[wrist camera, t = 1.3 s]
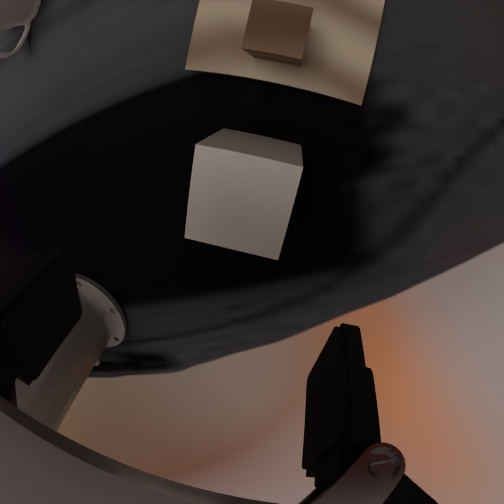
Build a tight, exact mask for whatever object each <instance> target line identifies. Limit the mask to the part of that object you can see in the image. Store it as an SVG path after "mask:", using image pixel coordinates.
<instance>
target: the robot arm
mask: <svg viewBox="0 0 504 504" xmlns="http://www.w3.org/2000/svg"><path fill="white" fill-rule="evenodd" d="M126 333H127V321H126V318H125V315H124V313H123V311H122V309H121V307H120V306H119V304H118V303H117V301H116V300H115V299H114V298H113V297H112V295H111V294H110V293H109V292H108V291H107V290H106V289H104V288H103V287H102V286H101V285H99V284H98V283H97V282H95V281H94V280H92V279H90V278H88V277H86V276H83V275H81V274H76V273H75V271H74V265H73V259H72V257H71V256H70V253H69V252H68V251H67V250H64V249H61V248H58V247H54V248H52V249H51V250H50V251H49V252H48V253H46V254H45V255H44V256H43V257H42V258H41V259H40V260H39V261H37V262H36V263H35V264H34V265H33V266H32V267H31V268H30V269H29V270H28V271H27V272H25V273H24V274H23V275H22V276H21V277H20V278H19V279H18V280H17V281H16V282H15V283H14V284H13V285H12V286H11V287H10V288H9V289H8V290H7V291H6V292H5V293H4V294H3V295H2V296H1V297H0V504H277V503H270V502H263V501H257V500H250V499H245V498H239V497H235V496H230V495H225V494H221V493H216V492H212V491H207V490H203V489H199V488H195V487H192V486H188V485H184V484H181V483H177V482H174V481H171V480H168V479H165V478H161V477H158V476H155V475H152V474H150V473H147V472H144V471H141V470H138V469H136V468H133V467H131V466H128V465H125V464H123V463H120V462H118V461H116V460H113V459H111V458H109V457H106V456H104V455H102V454H100V453H97V452H95V451H93V450H91V449H88V448H87V447H85V446H83V445H81V444H78V443H77V442H75V441H73V440H71V439H69V438H67V437H65V436H63V435H61V434H60V433H57V430H58V428H59V427H60V425H61V422H62V421H63V419H64V417H65V415H66V413H67V412H68V410H69V408H70V406H71V405H72V403H73V401H74V399H75V397H76V396H77V394H78V392H79V390H80V389H81V387H82V385H83V384H84V382H85V380H86V378H87V377H88V375H89V373H90V372H91V370H92V368H93V367H94V365H96V366H97V365H99V364H100V358H99V357H100V355H101V353H102V352H103V350H104V348H105V347H114V346H117V345H118V344H120V343H121V342H122V340H123V339H124V337H125V335H126ZM305 410H306V411H305V428H304V443H303V444H304V445H303V458H302V468H303V469H307V471H306V477H315V487H316V488H315V489H314V490H313V491H312V492H311V493H310V494H309V495H308V496H307V497H305V498H304V499H303V500H302V501H301V502H300V503H299V504H438V503H437V502H436V501H435V500H434V499H433V498H431V497H430V496H429V495H428V494H427V493H425V492H424V491H423V490H422V489H421V488H420V487H419V486H418V485H417V484H415V483H414V482H413V481H412V480H411V479H410V478H409V477H408V476H406V475H405V474H404V472H405V459H404V457H403V455H402V453H401V452H400V450H399V449H398V448H396V447H395V446H393V445H391V444H388V443H381V436H380V426H379V417H378V409H377V400H376V392H375V385H374V378H373V373H372V370H371V369H370V368H367V367H366V366H365V358H364V351H363V345H362V338H361V332H360V328H359V327H358V326H354V325H349V324H344V323H342V324H341V325H340V327H334V329H333V331H332V333H331V335H330V336H329V339H328V340H327V342H326V344H325V346H324V348H323V350H322V352H321V353H320V355H319V357H318V359H317V361H316V363H315V364H314V366H313V368H312V370H311V372H310V374H309V376H308V379H307V387H306V409H305Z"/></svg>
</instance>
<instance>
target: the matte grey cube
mask: <svg viewBox="0 0 504 504" xmlns="http://www.w3.org/2000/svg"><path fill="white" fill-rule="evenodd" d="M302 170H303V160H302V149H301V145H299V144H295V143H291V142H286V141H282V140H278V139H274V138H269V137H265V136H260V135H255V134H250V133H245V132H240V131H235V130H230V129H225V128H224V129H222V130H220V131H218V132H216V133H215V134H213V135H211V136H209V137H208V138H206V139H204V140H202V141H201V142H199V143H197V144H196V146H195V153H194V160H193V168H192V175H191V183H190V192H189V200H188V209H187V218H186V228H185V238H188V239H192V240H196V241H200V242H204V243H208V244H213V245H217V246H221V247H225V248H229V249H234V250H238V251H242V252H246V253H250V254H255V255H259V256H263V257H267V258H271V259H276V260H278V258H279V255H280V251H281V248H282V244H283V240H284V237H285V233H286V230H287V226H288V222H289V219H290V215H291V211H292V208H293V204H294V200H295V196H296V193H297V189H298V185H299V181H300V178H301V174H302Z"/></svg>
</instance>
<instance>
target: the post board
mask: <svg viewBox="0 0 504 504" xmlns="http://www.w3.org/2000/svg"><path fill="white" fill-rule="evenodd" d="M384 3H385V0H200V2H199V6H198V10H197V15H196V19H195V23H194V28H193V33H192V37H191V42H190V47H189V52H188V57H187V63H186V68H185V69H186V70H194V71H204V72H212V73H220V74H227V75H234V76H240V77H246V78H252V79H258V80H263V81H268V82H273V83H278V84H283V85H287V86H292V87H296V88H300V89H304V90H308V91H312V92H316V93H320V94H323V95H327V96H331V97H334V98H338V99H341V100H344V101H348V102H351V103H354V104H357V105H362V101H363V97H364V93H365V89H366V85H367V81H368V77H369V73H370V69H371V65H372V60H373V56H374V51H375V47H376V42H377V38H378V33H379V28H380V23H381V18H382V13H383V8H384Z"/></svg>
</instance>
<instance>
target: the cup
mask: <svg viewBox="0 0 504 504" xmlns="http://www.w3.org/2000/svg"><path fill="white" fill-rule="evenodd" d="M40 2H41V0H0V31H1V30H5V29H9V28H12V27H16V26H23V25H25V30H24V33H23V35H22V38H21V39H20V41H19V43H18V45H17V46H16V48H15V49H14V50H13V51H12V52H10V53H2V52H0V58H7V57H9V56H11V55H13V54H14V53H16V52H17V51H18V50H19V48H20V47H21V46H22V44H23V42H24V41H25V39H26V37H27V35H28V32H29V30H30V27H31V21H32V20H33V18H34V17H35V16H36V15H37V13H38V9H39V6H40Z"/></svg>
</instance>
